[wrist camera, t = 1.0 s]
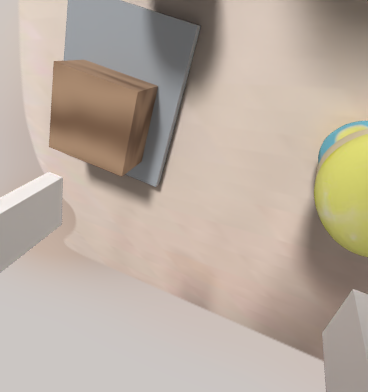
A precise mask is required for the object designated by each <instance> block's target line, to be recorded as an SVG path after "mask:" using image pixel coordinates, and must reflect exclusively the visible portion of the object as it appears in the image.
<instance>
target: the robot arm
mask: <svg viewBox="0 0 368 392" xmlns="http://www.w3.org/2000/svg"><path fill="white" fill-rule="evenodd" d="M62 189H63V177H61V176H58V175H56V174H53V173H50V172H47V173H45V174H44V175H42V176H40V177H38V178H36V179H34V180H32V181H30V182H29V183H27V184H25V185H23V186H21V187H19V188H17V189H15V190H14V191H12V192H10V193H8V194H6V195H4V196H2V197H1V198H0V273H1V272H2V271H3V270H4V269H6V268H7V267H8V266H9V265H11V264H12V263H13V262H15V261H16V260H17V259H18V258H20V257H21V256H22V255H24V254H25V253H26V252H27V251H29V250H30V249H31V248H33V247H34V246H35V245H36V244H37V243H39V242H40V241H41V240H43V239H44V238H45V237H47V236H48V235H49V234H50V233H52V232H53V231H54V230H56V229H57V228H58V227H59V226H61V225H62ZM322 338H323V353H324V367H325V382H326V392H368V294H365V293H363V292H360V291H358V290H355V289H352V291H351V292H350V294H349V295H348V297H347V298H346V299H345V301H344V302H343V304H342V305H341V307H340V308H339V309H338V311H337V312H336V314H335V315H334V316H333V318H332V319H331V321H330V322H329V324H328V325H327V326H326V328H325V329H324V331H323V332H322Z"/></svg>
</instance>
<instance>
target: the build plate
mask: <svg viewBox="0 0 368 392" xmlns="http://www.w3.org/2000/svg"><path fill="white" fill-rule="evenodd" d="M200 27H201V26H199V25H196V24H193V23H190V22H187V21H184V20H181V19H177V18H174V17H171V16H168V15H165V14H162V13H159V12H156V11H152V10H149V9H146V8H143V7H140V6H137V5H134V4H130V3H127V2H124V1H121V0H68V8H67V22H66V37H65V51H64V61H69V60H87V61H90V62H92V63H95V64H98V65H101V66H104V67H106V68H109V69H112V70H115V71H118V72H120V73H123V74H126V75H129V76H132V77H134V78H137V79H140V80H143V81H146V82H148V83H151V84H154V85H157V86H158V90H157V94H156V99H155V103H154V108H153V112H152V117H151V121H150V126H149V130H148V135H147V139H146V144H145V148H144V153H143V158H142V162H140V163H139V164H138V165H136V166H135V167H134V168H132V169H131V170H130V171H128V172H127V173H126V174H125V175H128V176H130V177H133V178H135V179H137V180H140V181H142V182H145V183H147V184H150V185H152V186H154V187H157V186H158V184H159V183H160V180H161V176H162V172H163V168H164V165H165V161H166V157H167V153H168V149H169V146H170V142H171V138H172V134H173V130H174V127H175V123H176V119H177V115H178V111H179V107H180V104H181V100H182V96H183V92H184V88H185V85H186V81H187V77H188V73H189V69H190V66H191V62H192V58H193V54H194V50H195V46H196V43H197V39H198V35H199V31H200Z"/></svg>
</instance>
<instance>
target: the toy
mask: <svg viewBox="0 0 368 392" xmlns="http://www.w3.org/2000/svg"><path fill="white" fill-rule="evenodd" d="M318 163H319V164H318V168H317V172H316V180H315V187H314V199H315V205H316V209H317V212H318V215H319V218H320V220H321V222H322V224H323V226H324V227H325V229H326V230H327V232H328V233H329V234H330V235H331V237H332V238H333V239H334V240H335V241H336V242H337V243H339V244H340V245H341V246H342V247H344V248H345V249H347V250H349V251H351V252H353V253H355V254H358V255H360V256H365V257H368V121H358V122H353V123H349V124H346V125H344V126H342V127H340V128H338V129H336V130H335V131H333V132H332V133H331V134H330V135H329V136H328V137H327V138H326V139H325V140H324V142H323V144H322V146H321V148H320V151H319V156H318Z"/></svg>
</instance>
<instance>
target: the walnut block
mask: <svg viewBox="0 0 368 392" xmlns="http://www.w3.org/2000/svg"><path fill="white" fill-rule="evenodd" d="M157 90H158V86H157V85H154V84H151V83H148V82H146V81H143V80H140V79H137V78H134V77H132V76H129V75H126V74H123V73H120V72H118V71H115V70H112V69H109V68H106V67H104V66H101V65H98V64H95V63H92V62H90V61H87V60H69V61H54V67H53V85H52V103H51V121H50V139H49V147H51V148H53V149H56V150H58V151H61V152H63V153H66V154H68V155H70V156H73V157H75V158H78V159H80V160H83V161H85V162H87V163H90V164H92V165H95V166H97V167H100V168H102V169H104V170H107V171H109V172H112V173H114V174H117V175H119V176H121V177H122V176H123V175H125V174H126V173H127V172H128V171H130V170H131V169H132V168H134V167H135V166H136V165H138V164H139V163H140V162H142V158H143V153H144V148H145V144H146V139H147V135H148V130H149V126H150V121H151V117H152V112H153V108H154V103H155V99H156V94H157Z"/></svg>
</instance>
